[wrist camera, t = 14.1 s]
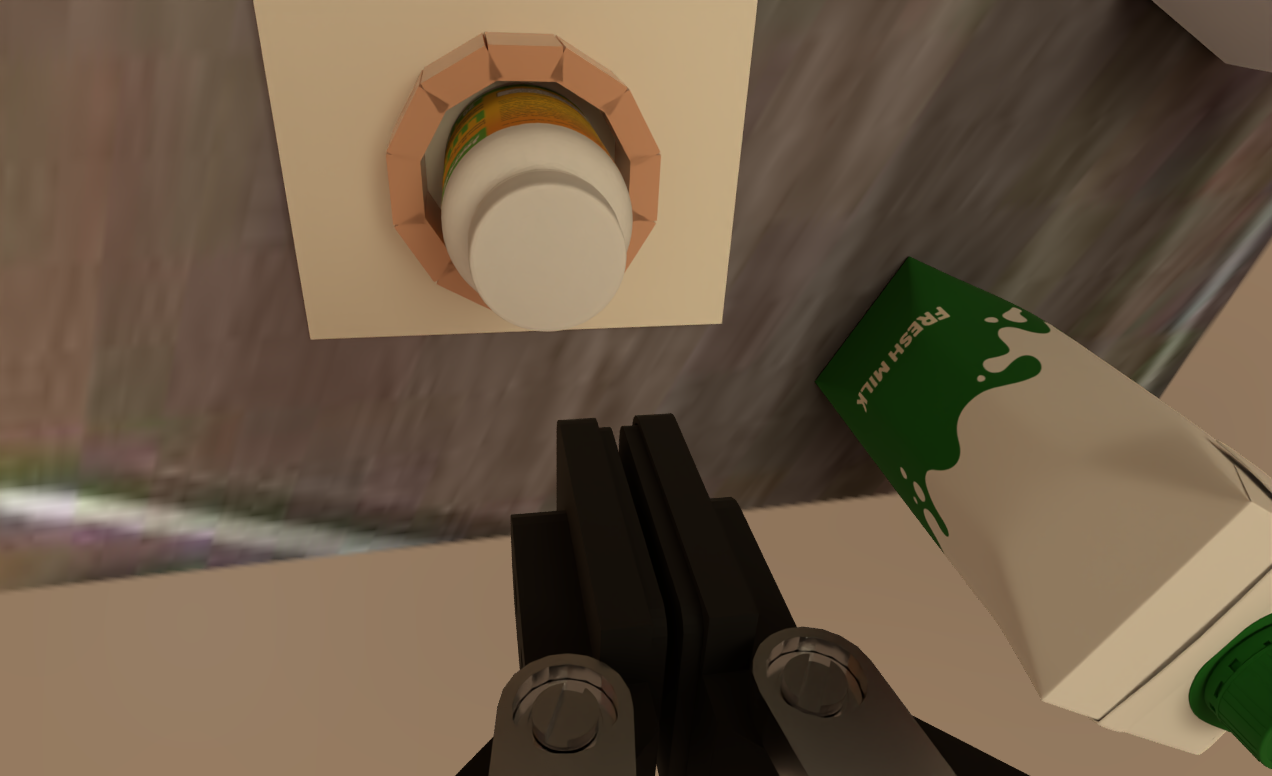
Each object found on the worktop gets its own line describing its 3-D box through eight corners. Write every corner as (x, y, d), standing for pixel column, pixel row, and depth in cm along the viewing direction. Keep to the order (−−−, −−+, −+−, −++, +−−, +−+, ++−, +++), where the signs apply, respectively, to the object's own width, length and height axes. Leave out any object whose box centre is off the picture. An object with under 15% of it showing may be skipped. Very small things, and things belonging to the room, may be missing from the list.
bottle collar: (382, 29, 26) (373, 41, 23) (648, 36, 27) (667, 49, 25) (407, 281, 30) (402, 316, 27) (636, 275, 31) (651, 307, 29)
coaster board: (254, -58, 25) (243, -57, 24) (747, -35, 28) (761, -33, 27) (316, 322, 32) (310, 339, 30) (711, 308, 35) (721, 323, 33)
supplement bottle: (457, 62, 26) (457, 129, 18) (615, 101, 28) (679, 179, 20) (433, 218, 29) (423, 340, 21) (579, 246, 30) (624, 370, 22)
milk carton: (921, 454, 41) (1248, 835, 24) (785, 388, 37) (1057, 782, 20) (1040, 312, 38) (1511, 634, 21) (904, 225, 34) (1342, 529, 17)
